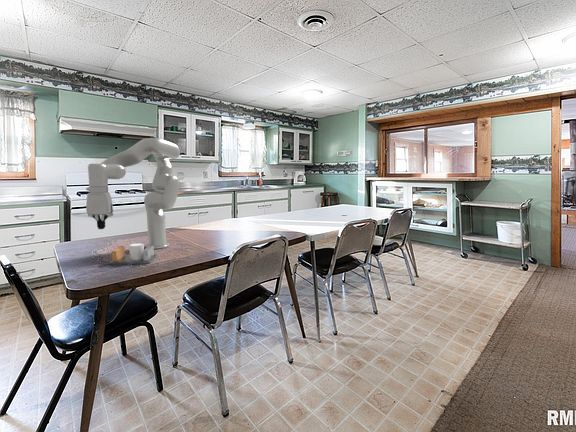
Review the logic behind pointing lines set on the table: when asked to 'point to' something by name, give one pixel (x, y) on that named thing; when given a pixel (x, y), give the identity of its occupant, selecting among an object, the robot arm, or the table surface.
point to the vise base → (147, 259)
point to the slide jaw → (118, 253)
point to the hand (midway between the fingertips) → (101, 228)
